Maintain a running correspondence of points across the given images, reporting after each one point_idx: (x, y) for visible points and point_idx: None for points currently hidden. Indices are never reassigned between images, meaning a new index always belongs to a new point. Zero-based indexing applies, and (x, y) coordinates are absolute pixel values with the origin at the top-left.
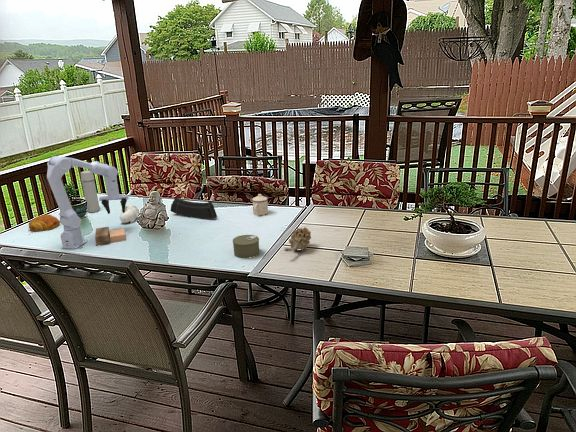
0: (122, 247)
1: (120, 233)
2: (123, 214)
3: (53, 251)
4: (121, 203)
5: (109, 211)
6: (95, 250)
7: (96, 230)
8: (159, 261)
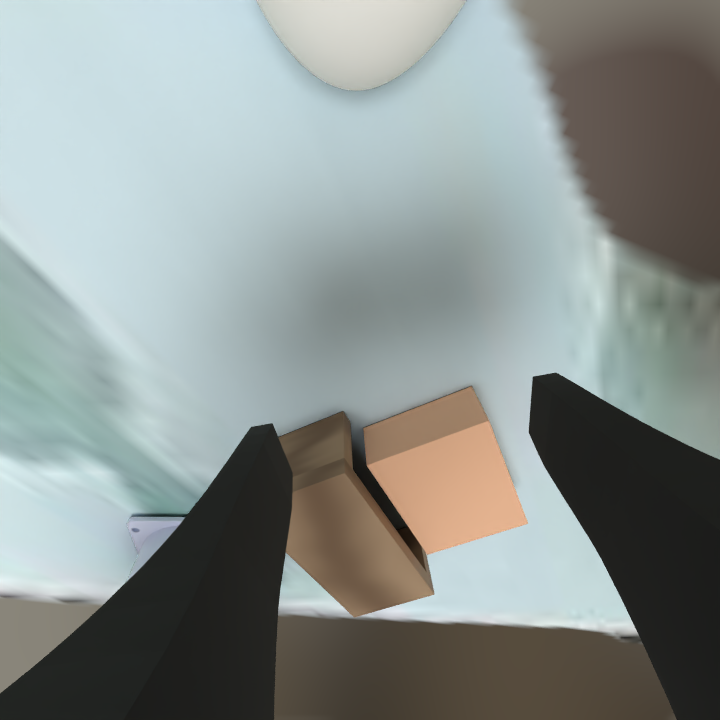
0: (517, 557)
1: (488, 508)
2: (358, 6)
3: None
4: (685, 692)
5: (278, 475)
6: None
7: None
8: None
